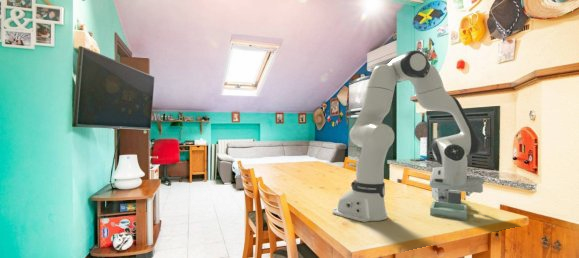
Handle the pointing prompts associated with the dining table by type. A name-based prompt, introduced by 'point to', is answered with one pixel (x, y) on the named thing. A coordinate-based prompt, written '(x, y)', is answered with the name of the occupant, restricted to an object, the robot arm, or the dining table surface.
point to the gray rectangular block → (454, 196)
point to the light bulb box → (440, 195)
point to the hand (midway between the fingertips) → (455, 193)
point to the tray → (449, 210)
